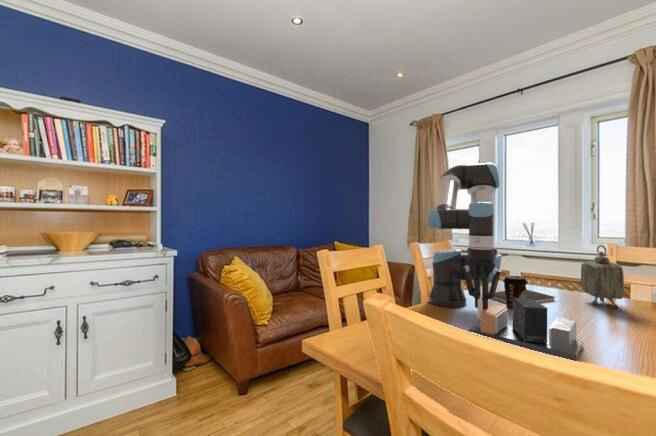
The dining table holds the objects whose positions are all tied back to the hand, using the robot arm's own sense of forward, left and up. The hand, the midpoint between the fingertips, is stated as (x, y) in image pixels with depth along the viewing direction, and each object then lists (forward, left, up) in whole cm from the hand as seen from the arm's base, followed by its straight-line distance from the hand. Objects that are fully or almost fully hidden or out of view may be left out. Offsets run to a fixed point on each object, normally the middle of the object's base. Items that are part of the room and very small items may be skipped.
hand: (481, 318), depth 106 cm
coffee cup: (+1, +33, -4) cm, 34 cm away
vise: (+12, 0, -4) cm, 13 cm away
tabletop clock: (+25, +63, -4) cm, 68 cm away
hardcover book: (-2, +51, -5) cm, 52 cm away
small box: (+14, 0, -3) cm, 14 cm away
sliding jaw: (+4, 0, -3) cm, 5 cm away
